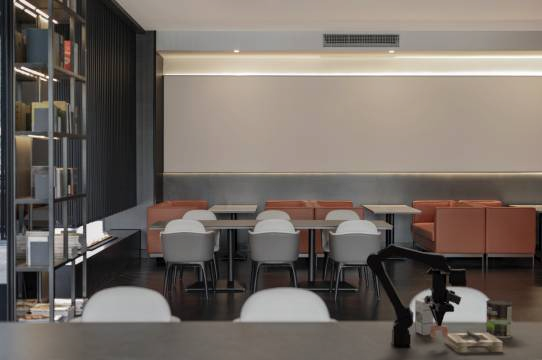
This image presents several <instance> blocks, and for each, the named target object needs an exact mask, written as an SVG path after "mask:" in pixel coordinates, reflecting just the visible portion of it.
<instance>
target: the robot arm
mask: <svg viewBox="0 0 542 360" xmlns="http://www.w3.org/2000/svg"><path fill="white" fill-rule="evenodd" d="M392 256H395V257H396V256H398V257H401V258H405V259H409V260H413V261H416V262H419V263H422V264H425V265H426V266H429V267H430V268H429V269H428V270H427V271H426V275H431V287H429V290H430V291H431V295H426V296H424V298H425V303H426V304H428V302H430V306H429V308H430V310H431V313H432V315H433V321H434V322H435V323H436V321H437V324H438V326H441V324H443V321H444V317H445V314H446V313H454V312H455V306H454V305H453V304H455V305H456V306H459V305H460V303H461V301H462V297H461V296H459V295H458V294H456V292H455V291H454V290H451V289H450V290H449V289H448V288H447V283H448V284H449V285H450V286H451V287H458V288H460V287H462V288H463V287H464V288H467V275H466V271H467V270H466V268H460V269H456V268H455V269H454V268H451V266H450V265H449V264H448V262H447V261H448V260H447V257H446V256H445V255H444V254H443V253H440V252H427V251H426V252H425V251H424V252H423V251H420V250H416V249H412V248H408V247H404V246H400V245H396V244H395V243H390V244H389V245H388V246H386V247H385V248H382V249H380V250H378V251H377V252H376V251H374V252H370V253H369V254H368V255H367V258H366V265H367V266H368V267H369V269H370V270H371V272H372V273H373V274H374V275H375V276H376V277H377V278H378V280H379V282H380V284H381V287H382V288H383V290H384V291H385V293H386V295H387V297H388V299H389V302H390V303H391V305H392V306H393V308H394V312H395V316H396V319H395V320H394V321H393V323H392V325H393V326H392V328H391V341H390V345H392V346H393V347H394V348H411V338H412V337H411V333H410V330H409V328H411V327H412V326H413V324H414V312H413V311H412V309H411V307H410V305H409V304H407V305H406V304H404V303H403V301H402V299H401V298H400V296H399V294H398V291H397V290H396V288H395V286H394V284H393V282H392V280H391V278H390V277H389V275H388V273H387V270H386V267H385V263H384V261H386V260H387V259H389V258H390V257H392ZM433 268H434V269H433ZM441 270H442V271H441Z"/></svg>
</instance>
